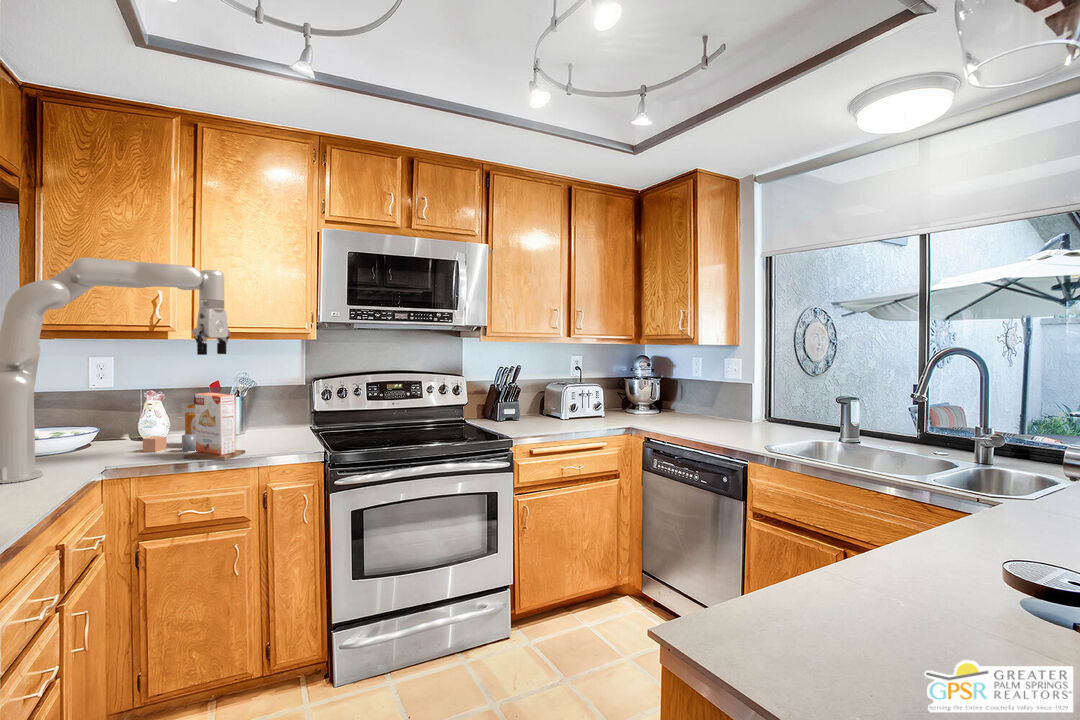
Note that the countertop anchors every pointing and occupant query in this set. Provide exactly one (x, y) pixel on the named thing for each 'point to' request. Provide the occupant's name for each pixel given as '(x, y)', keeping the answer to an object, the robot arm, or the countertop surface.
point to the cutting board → (213, 455)
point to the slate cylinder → (188, 442)
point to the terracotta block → (154, 444)
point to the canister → (190, 419)
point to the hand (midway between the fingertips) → (212, 354)
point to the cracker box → (215, 423)
